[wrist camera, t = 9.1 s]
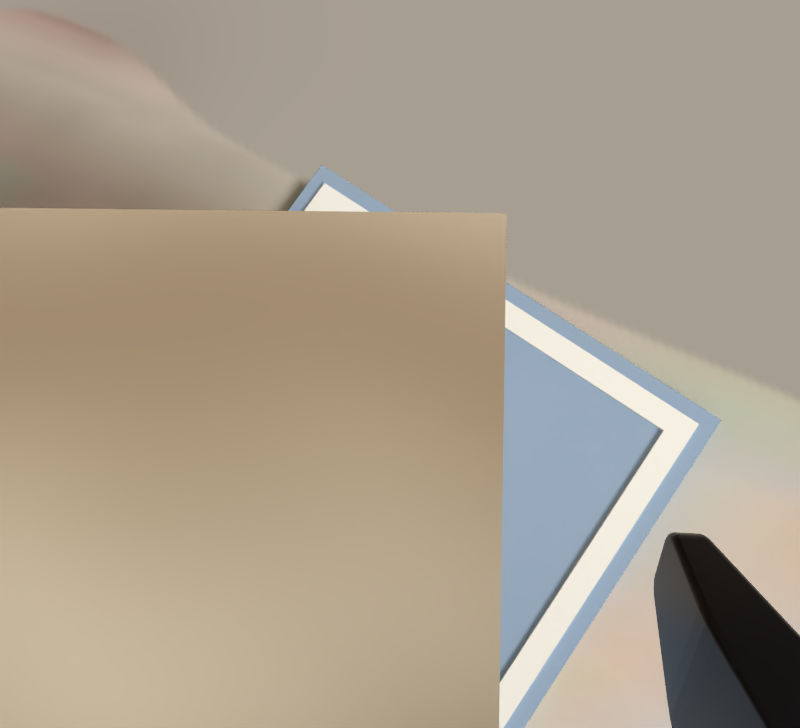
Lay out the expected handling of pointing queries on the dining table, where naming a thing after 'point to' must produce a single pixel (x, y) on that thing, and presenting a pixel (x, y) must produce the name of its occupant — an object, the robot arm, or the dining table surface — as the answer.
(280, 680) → the beech block
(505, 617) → the blueprint mat
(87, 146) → the dining table surface
